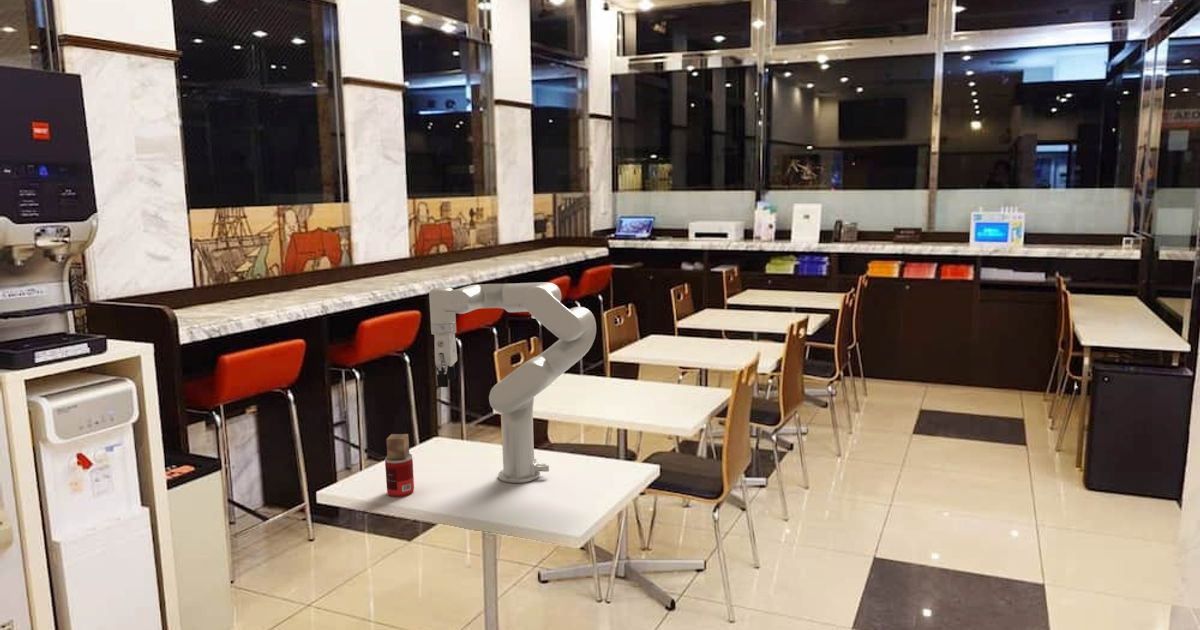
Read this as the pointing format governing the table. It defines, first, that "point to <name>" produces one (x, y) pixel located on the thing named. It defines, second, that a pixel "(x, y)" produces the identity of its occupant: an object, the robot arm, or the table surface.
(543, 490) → the table surface
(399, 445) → the walnut block
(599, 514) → the table surface
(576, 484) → the table surface
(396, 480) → the canned food
